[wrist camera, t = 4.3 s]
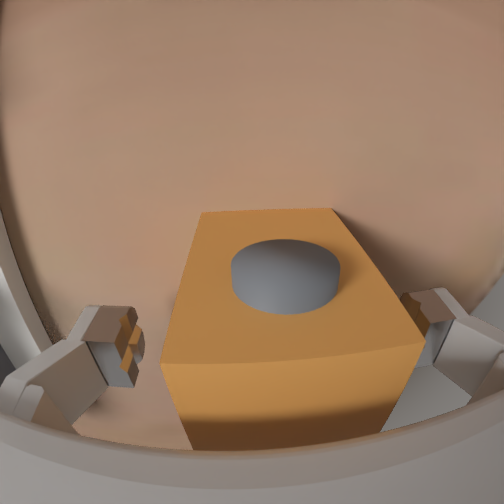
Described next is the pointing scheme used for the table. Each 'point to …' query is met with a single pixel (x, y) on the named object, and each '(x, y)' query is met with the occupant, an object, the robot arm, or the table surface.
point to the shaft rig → (16, 315)
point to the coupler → (284, 334)
